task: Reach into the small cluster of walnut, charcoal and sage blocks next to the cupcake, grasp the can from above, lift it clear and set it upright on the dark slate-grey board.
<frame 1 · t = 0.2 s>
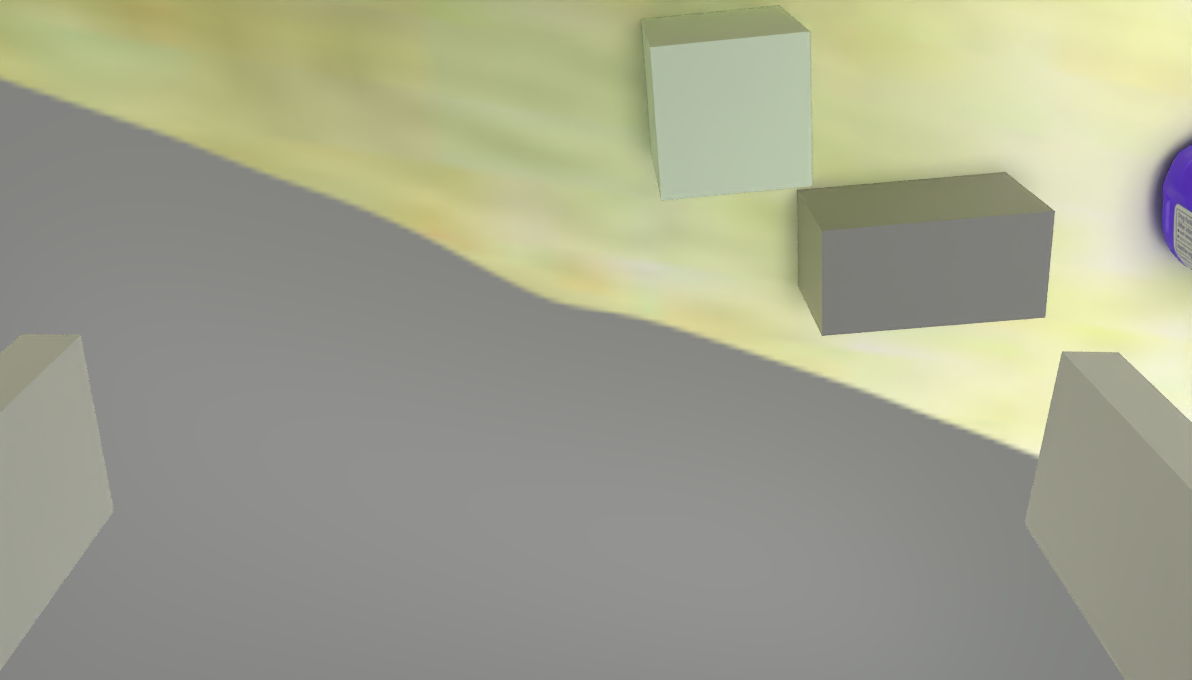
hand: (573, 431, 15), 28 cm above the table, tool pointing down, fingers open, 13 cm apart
sage block: (713, 81, 41), on the table
charcoal block: (898, 229, 43), on the table
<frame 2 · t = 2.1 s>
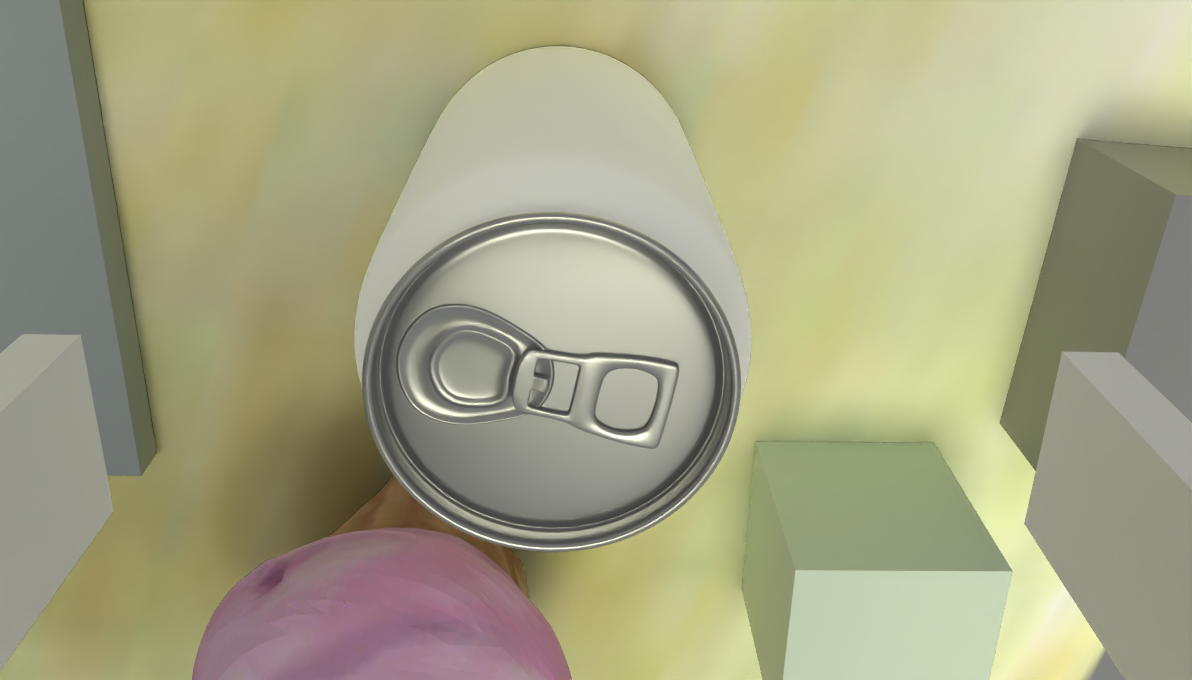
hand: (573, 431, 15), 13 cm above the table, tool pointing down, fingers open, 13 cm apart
sage block: (834, 517, 31), on the table
charcoal block: (1107, 292, 29), on the table
cupcake: (418, 540, 32), on the table
can: (559, 173, 27), on the table
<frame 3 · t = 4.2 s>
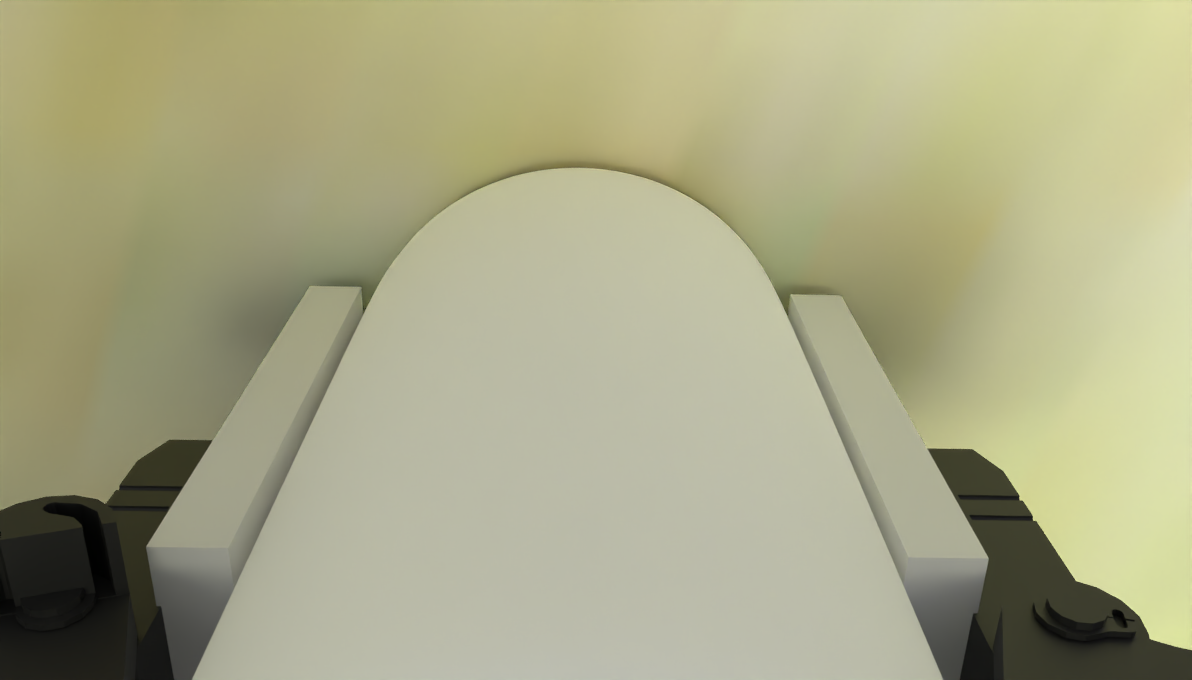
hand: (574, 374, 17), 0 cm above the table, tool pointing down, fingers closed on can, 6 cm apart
can: (577, 355, 17), on the table, touching gripper
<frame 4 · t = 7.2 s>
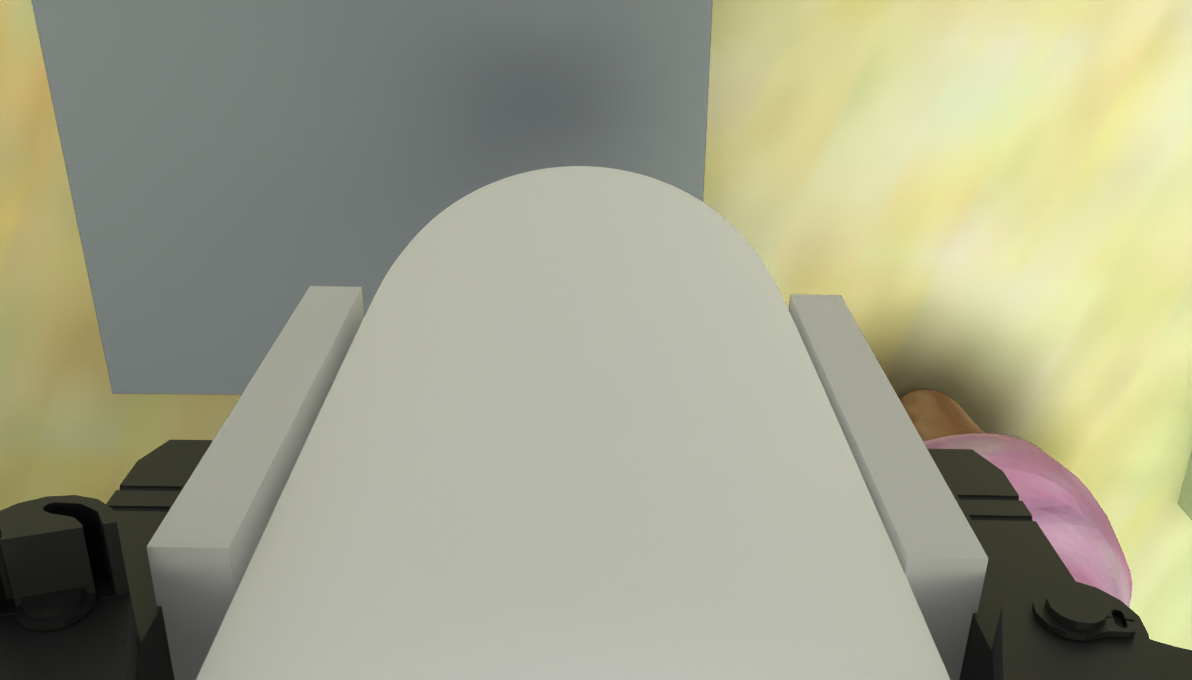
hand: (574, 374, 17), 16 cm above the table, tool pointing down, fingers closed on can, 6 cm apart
cupcake: (897, 459, 36), on the table
can: (580, 354, 17), point 16 cm above the table, touching gripper
board: (387, 96, 31), on the table
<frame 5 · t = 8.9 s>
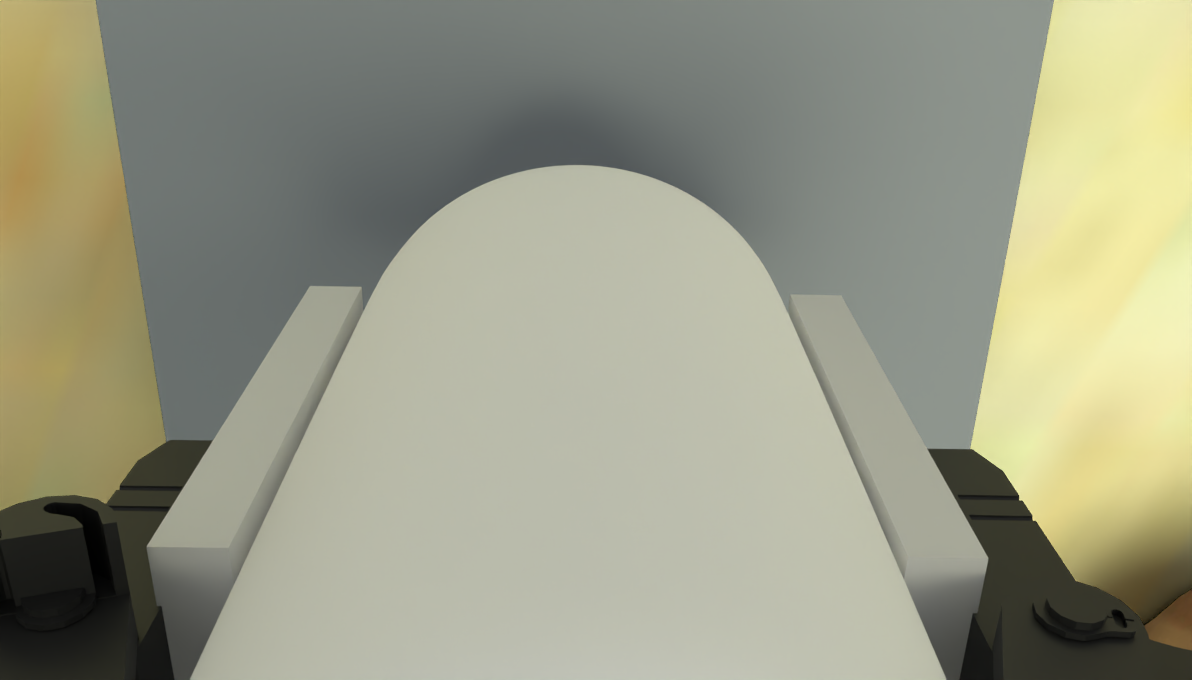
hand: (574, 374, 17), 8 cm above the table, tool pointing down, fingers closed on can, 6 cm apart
cupcake: (1170, 659, 29), on the table
can: (577, 353, 17), point 7 cm above the table, touching gripper
board: (574, 219, 24), on the table
when the fingers open (3 cm above the table, at t = 10.5 s): can drops 2 cm, resting on board.
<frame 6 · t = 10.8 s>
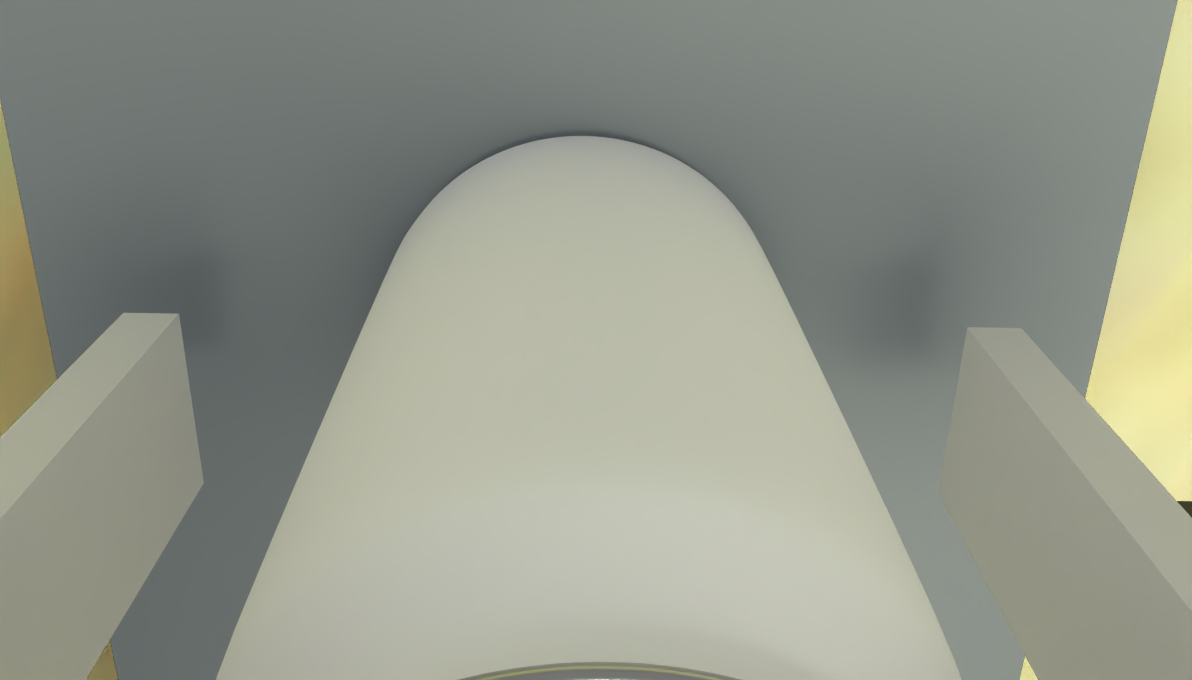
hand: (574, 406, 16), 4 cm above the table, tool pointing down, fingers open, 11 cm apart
can: (580, 311, 19), point 1 cm above the table, touching board
board: (576, 290, 20), on the table
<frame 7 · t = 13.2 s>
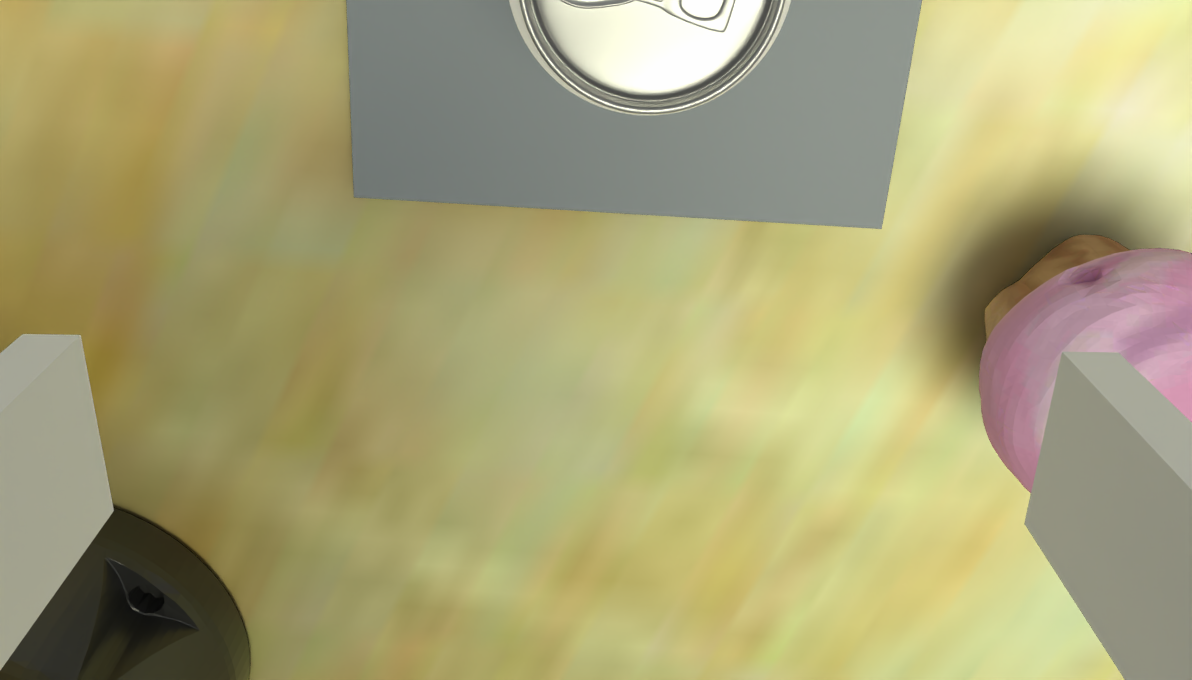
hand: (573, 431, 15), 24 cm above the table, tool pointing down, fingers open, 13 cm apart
cupcake: (1049, 305, 40), on the table
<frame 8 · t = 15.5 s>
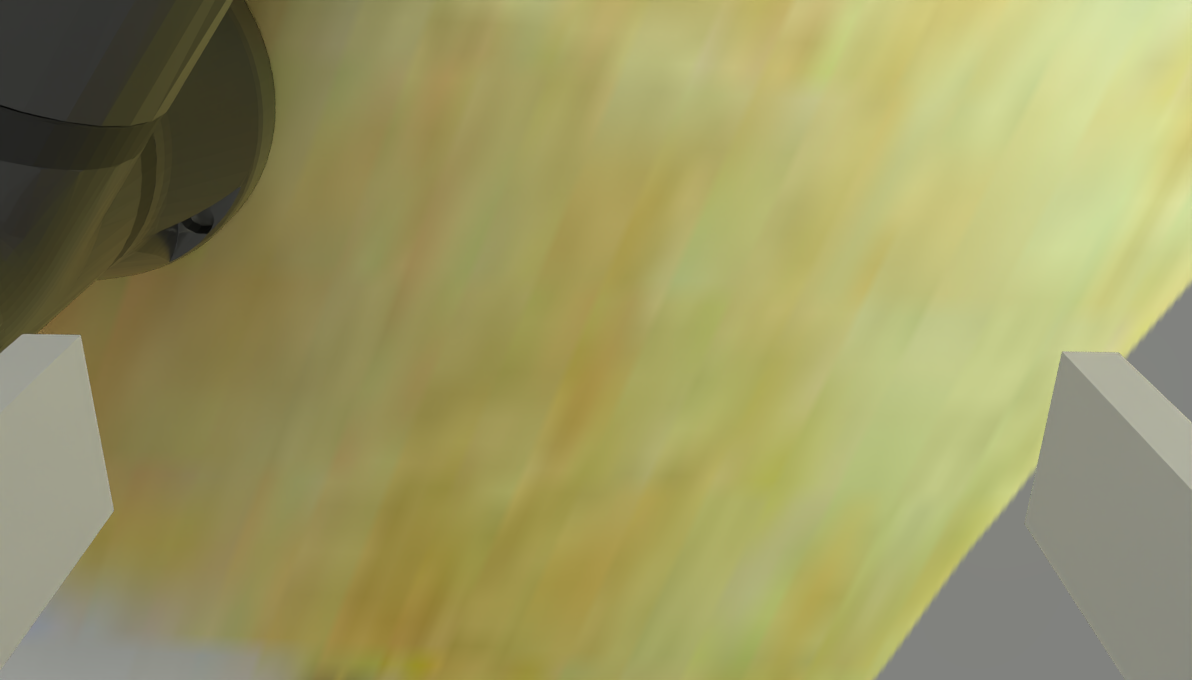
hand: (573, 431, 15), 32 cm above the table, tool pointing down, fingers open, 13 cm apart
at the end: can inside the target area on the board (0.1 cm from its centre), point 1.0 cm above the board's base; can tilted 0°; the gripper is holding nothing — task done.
